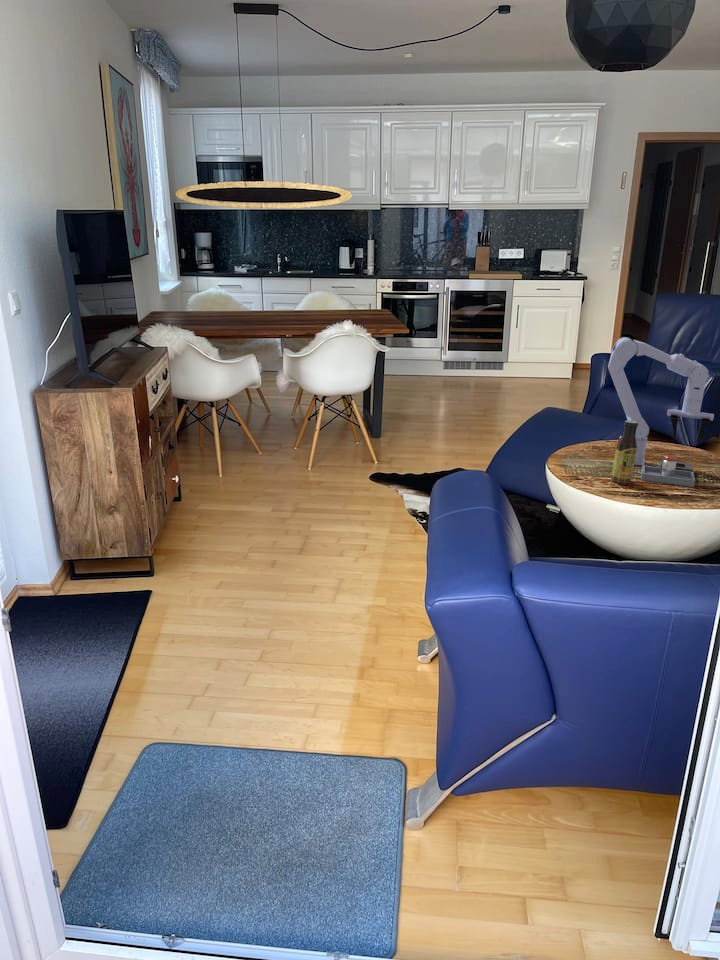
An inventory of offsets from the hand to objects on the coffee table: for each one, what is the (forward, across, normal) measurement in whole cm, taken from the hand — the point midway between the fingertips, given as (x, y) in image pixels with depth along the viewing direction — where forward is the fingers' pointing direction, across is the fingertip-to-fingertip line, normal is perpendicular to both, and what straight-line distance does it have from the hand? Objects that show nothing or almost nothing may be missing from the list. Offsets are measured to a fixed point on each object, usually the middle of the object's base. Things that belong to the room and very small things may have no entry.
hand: (686, 438), depth 251 cm
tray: (+10, -5, -19) cm, 22 cm away
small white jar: (+10, -5, -19) cm, 22 cm away
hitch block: (+10, -2, -8) cm, 13 cm away
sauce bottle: (+11, -19, -30) cm, 37 cm away
